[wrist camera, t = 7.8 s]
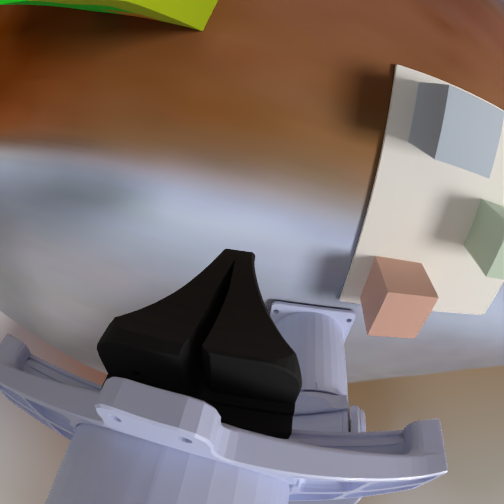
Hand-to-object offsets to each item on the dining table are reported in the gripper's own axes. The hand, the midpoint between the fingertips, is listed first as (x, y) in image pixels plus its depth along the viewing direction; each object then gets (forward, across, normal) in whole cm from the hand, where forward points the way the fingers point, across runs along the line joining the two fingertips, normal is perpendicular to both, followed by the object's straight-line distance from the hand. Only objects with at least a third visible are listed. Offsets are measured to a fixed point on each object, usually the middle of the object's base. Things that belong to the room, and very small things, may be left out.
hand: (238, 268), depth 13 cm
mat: (+9, -17, -1) cm, 19 cm away
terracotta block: (+9, -12, +6) cm, 16 cm away
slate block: (+9, -12, -8) cm, 17 cm away
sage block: (+9, -20, -1) cm, 22 cm away
